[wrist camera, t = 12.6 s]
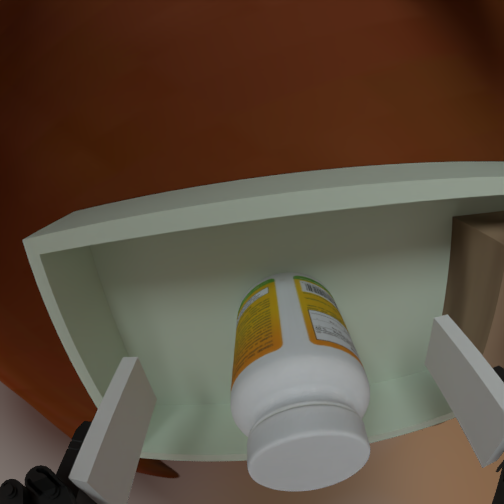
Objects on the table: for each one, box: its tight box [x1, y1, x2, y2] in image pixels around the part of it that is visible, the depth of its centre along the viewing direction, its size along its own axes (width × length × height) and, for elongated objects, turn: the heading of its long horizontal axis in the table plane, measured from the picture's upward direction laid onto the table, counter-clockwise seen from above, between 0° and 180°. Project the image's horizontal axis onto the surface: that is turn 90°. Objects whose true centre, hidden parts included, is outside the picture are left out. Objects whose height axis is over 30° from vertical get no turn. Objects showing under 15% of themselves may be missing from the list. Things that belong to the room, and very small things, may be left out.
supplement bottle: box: [230, 272, 370, 491], centre depth 13 cm, size 5×5×10 cm
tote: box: [22, 162, 504, 461], centre depth 15 cm, size 28×15×5 cm, turn 98°
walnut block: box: [442, 211, 504, 368], centre depth 14 cm, size 5×9×5 cm, turn 8°
